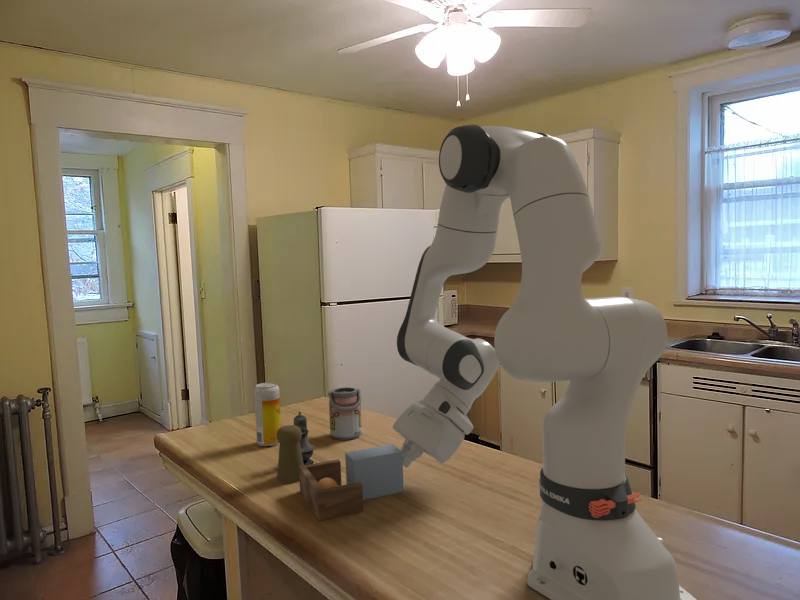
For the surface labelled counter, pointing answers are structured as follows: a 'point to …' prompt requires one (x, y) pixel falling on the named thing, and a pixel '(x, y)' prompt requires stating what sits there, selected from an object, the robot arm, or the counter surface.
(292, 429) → the olive pawn
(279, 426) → the beer can
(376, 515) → the counter surface
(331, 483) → the ball
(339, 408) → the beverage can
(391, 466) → the block
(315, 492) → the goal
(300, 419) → the grey chess bishop
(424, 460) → the counter surface
